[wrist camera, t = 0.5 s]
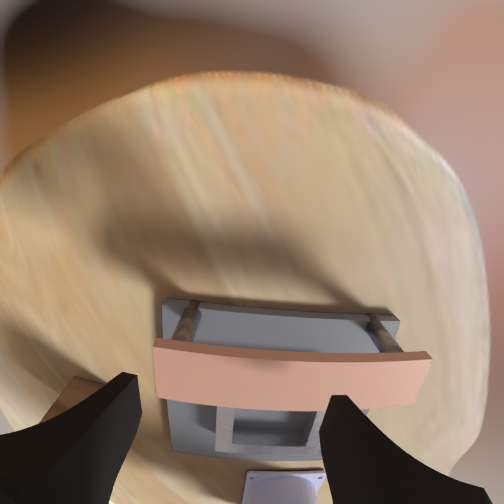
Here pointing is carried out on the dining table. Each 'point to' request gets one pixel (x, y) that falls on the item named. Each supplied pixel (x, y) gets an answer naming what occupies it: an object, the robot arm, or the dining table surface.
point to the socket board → (265, 338)
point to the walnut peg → (72, 396)
